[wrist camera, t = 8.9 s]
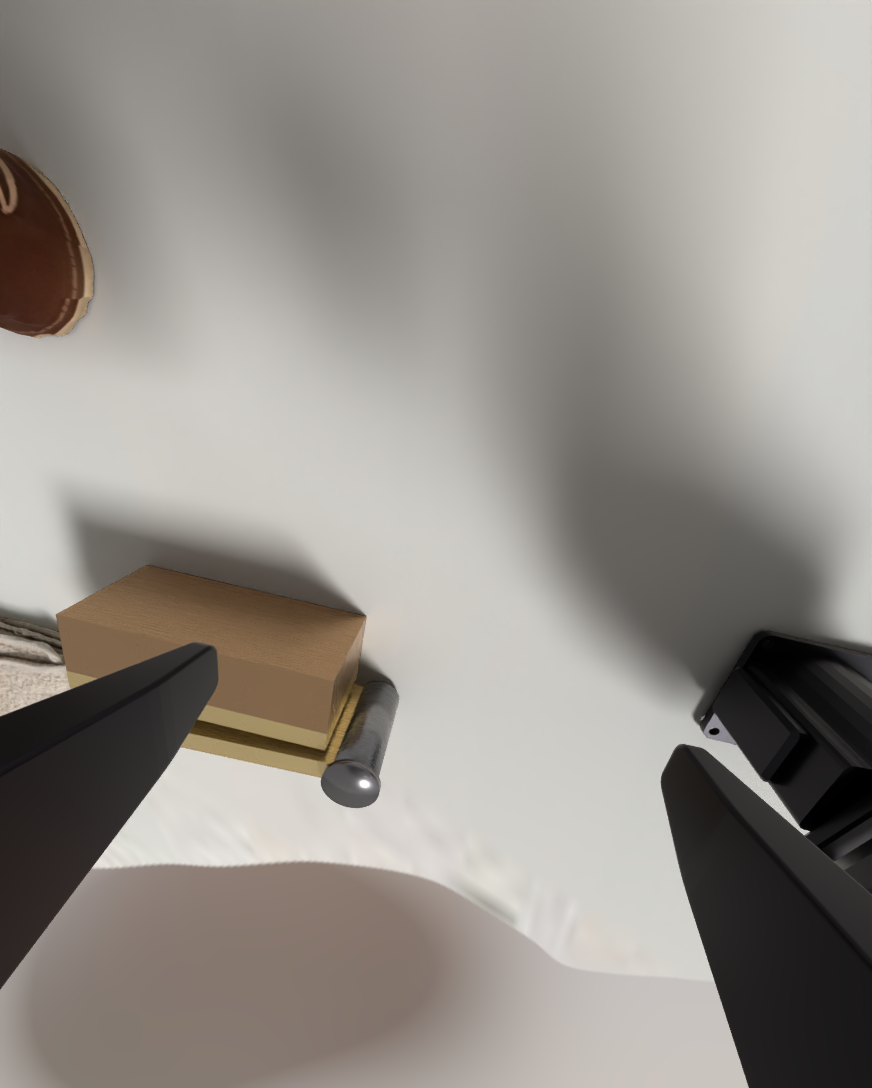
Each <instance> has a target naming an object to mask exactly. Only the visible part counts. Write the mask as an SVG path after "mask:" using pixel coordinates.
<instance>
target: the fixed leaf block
mask: <svg viewBox="0 0 872 1088" xmlns="http://www.w3.org/2000/svg"><path fill="white" fill-rule="evenodd" d="M56 618H57V623H58V629H59V634H60V639H61V644H62V650H63V655H64V660H65V666H66V671H67V676H68V681H69V687H70V688H71V689H72V688H75V687H77V686H80V685H82V684H85V683H88V682H90V681H93V680H95V679H98V678H101V677H103V676H106V675H108V674H111V673H114V672H116V671H119V670H121V669H124V668H127V667H129V666H132V665H134V664H137V663H140V662H142V661H145V660H147V659H150V658H153V657H155V656H158V655H160V654H163V653H166V652H168V651H171V650H173V649H176V648H179V647H181V646H184V645H186V644H189V643H192V642H200V643H205V644H209V645H213V646H215V648H216V649H217V657H218V674H219V680H218V685H217V687H216V690H215V692H214V693H213V695H212V697H211V698H210V700H209V701H208V703H207V705H206V706H205V708H204V710H203V711H202V713H201V714H200V716H199V718H198V720H202V721H206V722H210V723H214V724H218V725H222V726H227V727H231V728H235V729H239V730H243V731H247V732H251V733H255V734H259V735H263V736H267V737H272V738H276V739H280V740H284V741H288V742H292V743H296V744H300V745H304V746H308V747H312V748H316V749H321V750H325V749H326V747H327V745H328V742H329V740H330V738H331V735H332V733H333V731H334V728H335V726H336V724H337V721H338V719H339V717H340V714H341V712H342V710H343V708H344V705H345V703H346V701H347V698H348V696H349V694H350V691H351V689H352V687H353V684H354V682H355V680H356V677H357V673H358V667H359V661H360V654H361V648H362V642H363V635H364V629H365V623H366V616H362V615H358V614H354V613H349V612H345V611H341V610H337V609H332V608H328V607H324V606H320V605H315V604H311V603H307V602H303V601H298V600H294V599H290V598H286V597H281V596H277V595H273V594H269V593H264V592H260V591H256V590H252V589H247V588H243V587H239V586H235V585H230V584H226V583H222V582H218V581H213V580H209V579H205V578H201V577H196V576H192V575H188V574H184V573H179V572H175V571H171V570H167V569H162V568H158V567H154V566H150V565H146V566H145V567H143V568H141V569H139V570H137V571H135V572H133V573H132V574H130V575H128V576H126V577H124V578H122V579H121V580H119V581H117V582H115V583H113V584H111V585H109V586H108V587H106V588H104V589H102V590H100V591H98V592H96V593H95V594H93V595H91V596H89V597H87V598H85V599H84V600H82V601H80V602H78V603H76V604H74V605H72V606H71V607H69V608H67V609H65V610H63V611H61V612H59V613H58V614H56Z"/></svg>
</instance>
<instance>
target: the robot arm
mask: <svg viewBox="0 0 872 1088" xmlns="http://www.w3.org/2000/svg"><path fill="white" fill-rule="evenodd" d="M767 640H769V641H768V642H767V643H765V644H763V643H764V642H765V641H767ZM218 680H219V674H218V657H217V649H216V648H215V646H213V645H209V644H205V643H200V642H192V643H189V644H186V645H184V646H181V647H179V648H176V649H173V650H171V651H168V652H166V653H163V654H160V655H158V656H155V657H153V658H150V659H147V660H145V661H142V662H140V663H137V664H134V665H132V666H129V667H127V668H124V669H121V670H119V671H116V672H114V673H111V674H108V675H106V676H103V677H101V678H98V679H95V680H93V681H90V682H88V683H85V684H82V685H80V686H77V687H75V688H72V689H69V690H67V691H64V692H62V693H59V694H56V695H54V696H51V697H49V698H46V699H43V700H41V701H38V702H36V703H33V704H30V705H28V706H25V707H23V708H20V709H17V710H15V711H12V712H10V713H7V714H4V715H2V716H0V989H1V988H2V986H3V985H4V984H5V983H6V981H7V980H8V979H9V977H10V976H11V975H12V973H13V972H14V971H15V969H16V967H18V965H19V964H20V963H21V961H22V960H23V959H24V957H25V956H26V954H27V953H28V952H29V951H30V949H31V948H32V947H33V945H34V944H35V943H36V941H37V940H38V939H39V937H40V936H41V935H42V933H43V932H44V931H45V929H46V928H47V927H48V925H49V924H50V923H51V921H52V920H53V919H54V917H55V916H56V914H57V913H58V912H59V911H60V909H61V908H62V907H63V905H64V904H65V903H66V901H67V900H68V899H69V897H70V896H71V895H72V893H73V892H74V891H75V889H76V888H77V887H78V885H79V884H80V883H81V881H82V880H83V879H84V877H85V876H86V874H87V873H88V872H89V871H90V869H91V868H92V867H93V866H94V864H95V863H96V862H97V860H98V859H99V858H100V856H101V855H102V854H103V852H104V851H105V850H106V848H107V847H108V846H109V844H110V843H111V842H112V840H113V839H114V838H115V836H116V835H117V834H118V832H119V831H120V830H121V828H122V827H123V826H124V824H125V823H126V822H127V820H128V819H129V818H130V816H131V815H132V814H133V812H134V811H135V810H136V808H137V807H138V806H139V804H140V803H141V802H142V800H143V799H144V798H145V796H146V795H147V794H148V792H149V791H150V790H151V788H152V787H153V786H154V784H155V783H156V782H157V780H158V779H159V778H160V776H161V775H162V774H163V772H164V771H165V769H166V768H167V767H168V765H169V764H170V762H171V761H172V759H173V758H174V756H175V755H176V753H177V752H178V750H179V748H180V747H181V745H182V744H183V742H184V740H185V739H186V737H187V735H188V734H189V732H190V731H191V729H192V727H193V726H194V724H195V722H196V721H197V719H198V718H199V716H200V714H201V713H202V711H203V710H204V708H205V706H206V705H207V703H208V701H209V700H210V698H211V697H212V695H213V693H214V692H215V690H216V687H217V685H218ZM700 728H701V730H702V732H703V733H704V735H705V736H706V737H707V738H710V739H714V740H718V741H722V742H726V743H731V744H735V745H737V746H738V747H739V748H740V750H741V751H742V753H743V754H744V756H745V757H746V758H747V760H748V761H749V763H750V764H751V766H752V767H753V768H754V770H755V771H756V773H757V774H758V776H759V777H760V778H761V779H762V780H763V781H765V782H768V783H769V784H770V786H771V787H772V789H773V790H774V791H775V793H776V794H777V796H778V797H779V798H780V800H781V801H782V803H783V804H784V805H785V807H786V808H787V810H788V811H789V812H790V814H791V815H792V817H793V818H794V819H795V821H796V822H797V824H798V825H799V826H800V828H802V829H804V830H808V831H810V832H809V833H807V834H806V835H803V834H802V833H801V832H799V831H798V830H797V829H796V828H795V827H794V826H792V825H791V824H790V823H789V822H788V821H787V820H786V819H784V818H783V817H782V816H781V815H780V814H779V813H778V812H776V811H775V810H774V809H773V808H772V807H771V806H769V805H768V804H767V803H766V802H765V801H764V800H763V799H761V798H760V797H759V796H758V795H757V794H756V793H755V792H753V791H752V790H751V789H750V788H749V787H748V786H746V785H745V784H744V783H743V782H742V781H741V780H740V779H738V778H737V777H736V776H735V775H734V774H733V773H732V772H730V771H729V770H728V769H727V768H726V767H725V766H723V765H722V764H721V763H720V762H719V761H718V760H717V759H715V758H714V757H713V756H712V755H711V754H710V753H709V752H707V751H706V750H705V749H703V748H700V747H695V746H691V745H686V744H680V745H678V746H677V747H676V748H675V749H674V751H673V753H672V755H671V757H670V759H669V761H668V763H667V765H666V767H665V769H664V771H663V773H662V776H661V788H662V793H663V798H664V802H665V806H666V811H667V815H668V820H669V824H670V829H671V833H672V837H673V842H674V846H675V851H676V855H677V860H678V864H679V868H680V872H681V876H682V880H683V883H684V886H685V890H686V893H687V896H688V900H689V903H690V906H691V909H692V912H693V915H694V918H695V921H696V925H697V928H698V931H699V934H700V937H701V940H702V943H703V946H704V949H705V953H706V956H707V959H708V962H709V965H710V968H711V971H712V974H713V977H714V981H715V984H716V987H717V990H718V993H719V996H720V999H721V1002H722V1005H723V1009H724V1011H725V1014H726V1018H727V1021H728V1024H729V1027H730V1030H731V1033H732V1037H733V1039H734V1043H735V1046H736V1049H737V1052H738V1055H739V1058H740V1061H741V1064H742V1068H743V1071H744V1074H745V1077H746V1080H747V1083H748V1086H749V1088H872V654H867V653H863V652H859V651H854V650H850V649H846V648H841V647H837V646H833V645H828V644H824V643H820V642H815V641H811V640H807V639H802V638H798V637H794V636H789V635H785V634H780V633H776V632H772V631H760V632H758V633H757V634H755V635H754V636H753V638H752V639H751V641H750V643H749V644H748V646H747V648H746V649H745V651H744V653H743V654H742V656H741V658H740V659H739V661H738V663H737V664H736V666H735V668H734V669H733V671H732V673H731V674H730V676H729V677H728V679H727V681H726V682H725V684H724V686H723V687H722V689H721V691H720V692H719V694H718V696H717V697H716V699H715V701H714V702H713V704H712V706H711V707H710V709H709V711H708V712H707V714H706V716H705V717H704V719H703V721H702V722H701V724H700ZM712 728H713V729H712Z"/></svg>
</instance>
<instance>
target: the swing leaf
mask: <svg viewBox="0 0 872 1088" xmlns="http://www.w3.org/2000/svg"><path fill="white" fill-rule="evenodd" d="M398 703H399V695H398V693H397V691H396V690H395V689H394V688H393V687H392V686H391V685H389V684H387V683H385V682H381V681H373V682H369V683H367V684H366V685H365V686H364V687H363V686H358V685H354V684H353V687H352V689H351V691H350V694H349V696H348V698H347V701H346V703H345V705H344V708H343V710H342V712H341V714H340V717H339V719H338V721H337V724H336V726H335V728H334V731H333V733H332V735H331V738H330V740H329V742H328V745H327V747H326V749H325V750H321V749H316V748H312V747H308V746H304V745H300V744H296V743H292V742H288V741H284V740H280V739H276V738H272V737H267V736H263V735H259V734H255V733H251V732H247V731H243V730H239V729H235V728H231V727H227V726H222V725H218V724H214V723H210V722H206V721H202V720H198V719H197V721H196V722H195V724H194V726H193V727H192V729H191V731H190V732H189V734H188V735H187V737H186V739H185V740H184V742H183V744H182V745H181V747H183V748H187V749H192V750H196V751H201V752H205V753H210V754H215V755H219V756H224V757H228V758H233V759H238V760H242V761H247V762H251V763H256V764H261V765H265V766H270V767H274V768H279V769H283V770H288V771H293V772H297V773H302V774H306V775H311V776H316V777H320V778H321V786H322V789H323V791H324V793H325V794H326V795H327V796H328V797H329V798H330V799H331V800H333V801H334V802H336V803H338V804H340V805H342V806H346V807H350V808H362V807H366V806H369V805H371V804H372V803H374V802H375V801H376V799H377V798H378V795H379V791H380V787H381V782H380V779H379V774H380V770H381V766H382V763H383V759H384V755H385V751H386V748H387V744H388V740H389V736H390V733H391V729H392V725H393V721H394V718H395V714H396V710H397V706H398Z"/></svg>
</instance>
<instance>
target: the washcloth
mask: <svg viewBox="0 0 872 1088" xmlns="http://www.w3.org/2000/svg"><path fill="white" fill-rule="evenodd" d="M69 689H71V688H70V687H69V681H68V676H67V671H66V666H65V660H64V655H63V650H62V644H61V639H60V634H59V632H57V631H54V630H51V629H48V628H44V627H41V626H37V625H34V624H30V623H27V622H23V621H17V620H13V619H8V618H2V617H0V716H2V715H4V714H7V713H10V712H12V711H15V710H17V709H20V708H23V707H25V706H28V705H30V704H33V703H36V702H38V701H41V700H43V699H46V698H49V697H51V696H54V695H56V694H59V693H62V692H64V691H67V690H69Z"/></svg>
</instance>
